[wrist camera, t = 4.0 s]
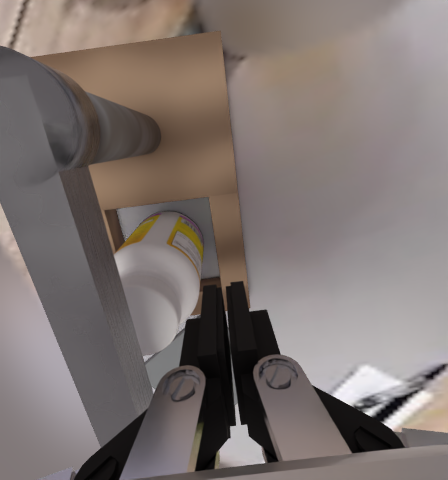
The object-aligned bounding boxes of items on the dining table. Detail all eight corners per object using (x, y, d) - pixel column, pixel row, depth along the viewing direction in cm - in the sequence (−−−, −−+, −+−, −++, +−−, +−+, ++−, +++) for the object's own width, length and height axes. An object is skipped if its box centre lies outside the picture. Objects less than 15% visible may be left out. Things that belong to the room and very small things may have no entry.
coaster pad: (206, 309, 30) (206, 312, 29) (277, 369, 33) (278, 373, 32) (135, 370, 32) (134, 374, 32) (207, 420, 36) (207, 425, 35)
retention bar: (-28, 72, 9) (-94, 54, 7) (82, 57, 9) (45, 34, 7) (115, 446, 15) (100, 490, 13) (181, 438, 15) (176, 481, 13)
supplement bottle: (134, 266, 28) (71, 361, 16) (140, 203, 26) (72, 258, 14) (198, 277, 28) (186, 376, 16) (210, 216, 26) (205, 280, 14)
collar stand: (45, 66, 22) (-269, -72, 8) (219, 42, 22) (228, -146, 7) (119, 310, 30) (30, 464, 15) (247, 294, 29) (277, 436, 15)
